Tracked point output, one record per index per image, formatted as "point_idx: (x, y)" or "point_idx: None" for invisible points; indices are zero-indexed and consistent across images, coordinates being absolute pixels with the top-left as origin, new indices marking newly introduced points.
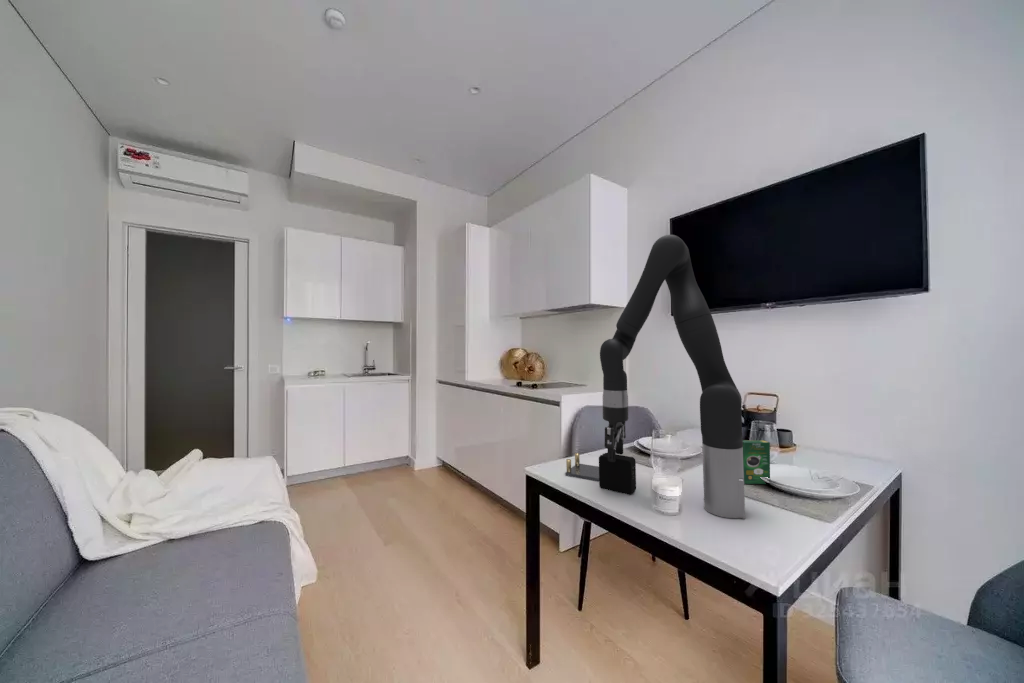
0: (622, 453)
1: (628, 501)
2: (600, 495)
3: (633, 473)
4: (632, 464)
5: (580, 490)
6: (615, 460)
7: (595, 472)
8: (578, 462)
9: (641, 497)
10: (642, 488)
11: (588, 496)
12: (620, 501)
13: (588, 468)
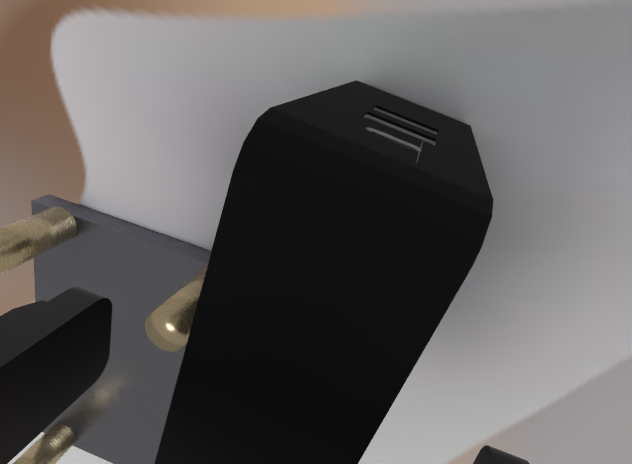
0: (101, 301)
1: (605, 154)
2: (498, 345)
3: (383, 123)
4: (415, 162)
5: (427, 447)
6: (509, 461)
7: (144, 353)
8: (56, 443)
9: (501, 36)
10: (293, 22)
11: (526, 416)
12: (609, 218)
13: (94, 385)
